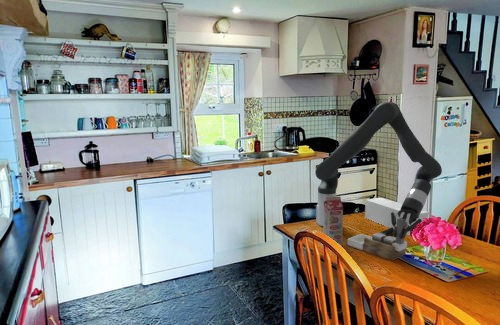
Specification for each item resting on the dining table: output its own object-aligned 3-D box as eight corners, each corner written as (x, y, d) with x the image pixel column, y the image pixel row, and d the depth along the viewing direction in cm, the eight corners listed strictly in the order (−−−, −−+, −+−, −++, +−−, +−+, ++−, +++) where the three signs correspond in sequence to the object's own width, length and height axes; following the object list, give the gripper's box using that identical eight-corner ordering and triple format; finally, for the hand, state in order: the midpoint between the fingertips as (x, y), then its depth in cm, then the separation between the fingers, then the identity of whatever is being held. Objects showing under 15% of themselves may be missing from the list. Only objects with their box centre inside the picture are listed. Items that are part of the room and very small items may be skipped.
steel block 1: (371, 243, 155) (372, 234, 155) (377, 241, 158) (377, 232, 157) (380, 246, 152) (380, 237, 151) (385, 244, 155) (385, 235, 154)
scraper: (392, 249, 147) (393, 219, 145) (399, 245, 150) (401, 216, 149) (399, 251, 144) (400, 221, 143) (406, 247, 148) (408, 218, 146)
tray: (347, 245, 162) (347, 238, 161) (360, 239, 168) (360, 233, 168) (362, 250, 156) (362, 243, 155) (375, 244, 162) (376, 238, 161)
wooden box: (363, 250, 155) (364, 238, 155) (376, 245, 161) (377, 233, 161) (392, 260, 145) (393, 247, 144) (405, 254, 151) (406, 241, 150)
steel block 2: (383, 247, 151) (383, 238, 150) (388, 245, 153) (389, 235, 153) (392, 250, 148) (392, 240, 147) (397, 247, 150) (398, 238, 150)
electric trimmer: (395, 234, 176) (396, 227, 176) (380, 242, 166) (380, 235, 165) (388, 232, 179) (388, 226, 178) (372, 240, 168) (373, 233, 168)
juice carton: (323, 241, 166) (323, 195, 163) (337, 241, 167) (338, 194, 164) (327, 247, 160) (328, 198, 156) (342, 246, 160) (343, 198, 157)
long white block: (364, 218, 200) (365, 199, 199) (379, 216, 204) (380, 197, 203) (411, 237, 171) (412, 215, 169) (427, 233, 175) (428, 212, 174)
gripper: (395, 194, 154) (378, 228, 149) (428, 200, 143) (411, 237, 138) (401, 203, 158) (385, 237, 153) (433, 210, 148) (417, 246, 142)
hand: (397, 237), depth 145 cm, fingers closed on scraper, 2 cm apart
